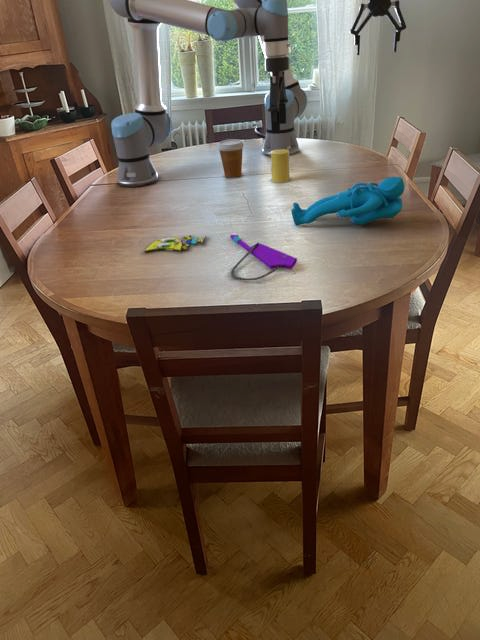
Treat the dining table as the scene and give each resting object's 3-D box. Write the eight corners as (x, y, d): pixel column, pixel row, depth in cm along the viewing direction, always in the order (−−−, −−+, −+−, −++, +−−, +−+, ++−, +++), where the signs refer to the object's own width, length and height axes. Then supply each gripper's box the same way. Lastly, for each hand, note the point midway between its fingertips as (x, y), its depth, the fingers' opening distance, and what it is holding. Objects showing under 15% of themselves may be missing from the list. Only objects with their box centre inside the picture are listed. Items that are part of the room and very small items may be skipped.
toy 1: (199, 248, 125) (143, 249, 127) (199, 251, 125) (144, 252, 127) (206, 233, 133) (154, 234, 135) (206, 236, 133) (154, 237, 136)
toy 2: (294, 191, 141) (400, 164, 130) (303, 224, 146) (406, 201, 135) (286, 212, 127) (404, 184, 117) (296, 248, 132) (410, 224, 122)
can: (279, 183, 168) (278, 154, 163) (268, 180, 173) (267, 151, 167) (293, 179, 171) (292, 151, 166) (282, 176, 175) (281, 148, 170)
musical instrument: (273, 292, 106) (311, 246, 118) (271, 284, 105) (310, 238, 117) (189, 277, 119) (231, 237, 131) (186, 270, 118) (230, 230, 130)
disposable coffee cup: (216, 178, 179) (213, 145, 172) (226, 170, 186) (223, 138, 180) (240, 179, 176) (237, 145, 169) (249, 171, 183) (247, 139, 176)
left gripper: (282, 60, 140) (284, 136, 151) (293, 52, 160) (295, 119, 171) (257, 61, 141) (261, 136, 153) (271, 53, 162) (274, 120, 173)
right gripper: (346, -12, 169) (343, 56, 181) (419, -19, 167) (412, 51, 178) (343, -11, 176) (341, 55, 187) (414, -18, 173) (407, 49, 184)
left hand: (279, 128), depth 162 cm, fingers open, 13 cm apart
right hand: (376, 53), depth 183 cm, fingers open, 13 cm apart
